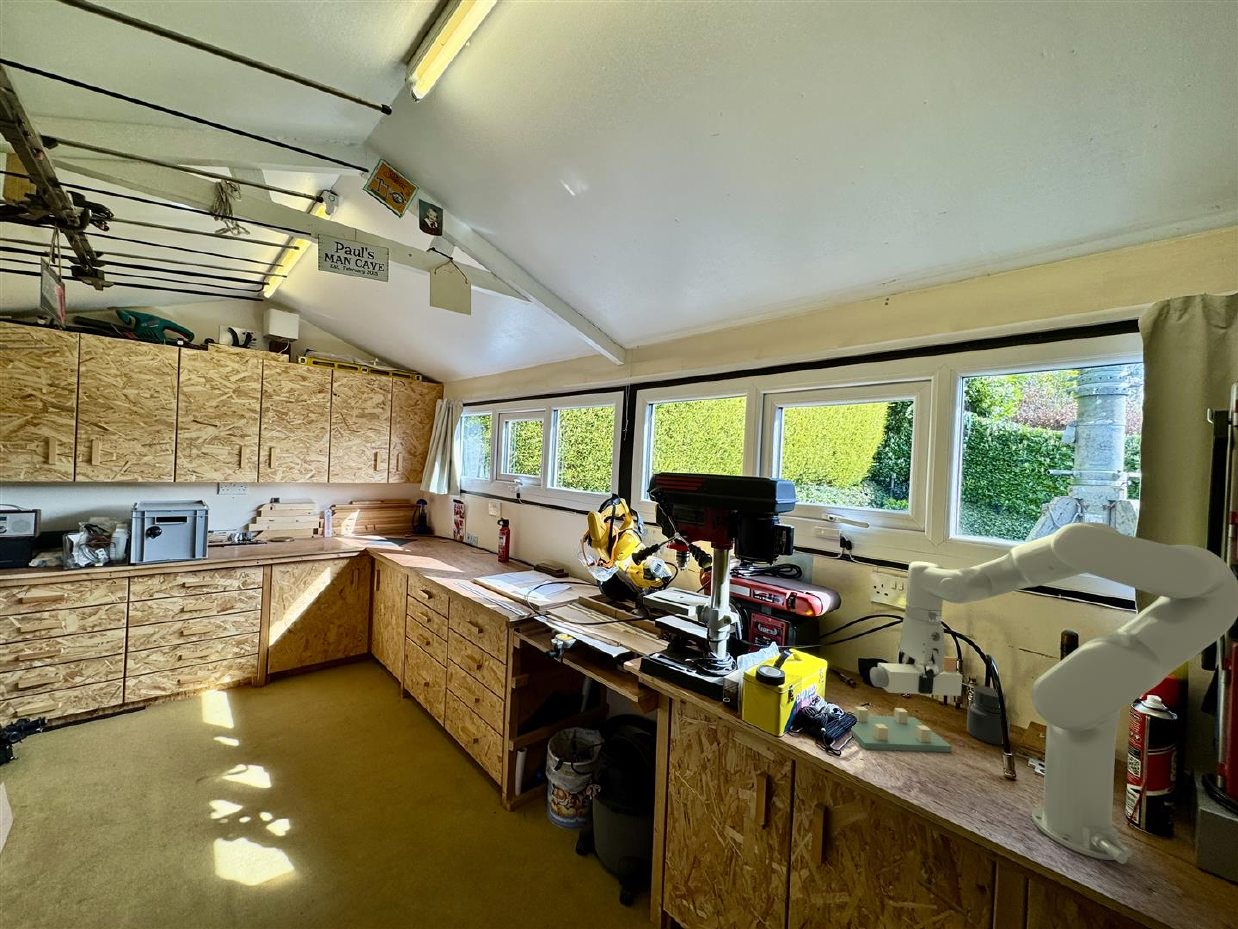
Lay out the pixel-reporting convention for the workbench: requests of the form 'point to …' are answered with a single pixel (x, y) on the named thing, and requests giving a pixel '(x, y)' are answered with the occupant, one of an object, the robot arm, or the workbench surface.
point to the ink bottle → (986, 716)
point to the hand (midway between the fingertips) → (917, 686)
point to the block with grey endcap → (916, 678)
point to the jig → (895, 733)
